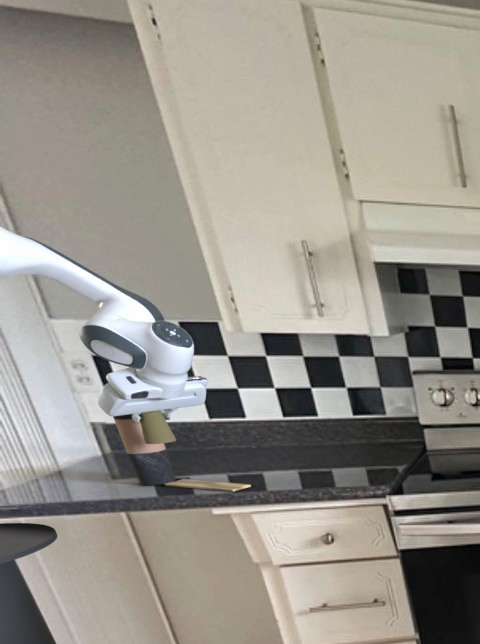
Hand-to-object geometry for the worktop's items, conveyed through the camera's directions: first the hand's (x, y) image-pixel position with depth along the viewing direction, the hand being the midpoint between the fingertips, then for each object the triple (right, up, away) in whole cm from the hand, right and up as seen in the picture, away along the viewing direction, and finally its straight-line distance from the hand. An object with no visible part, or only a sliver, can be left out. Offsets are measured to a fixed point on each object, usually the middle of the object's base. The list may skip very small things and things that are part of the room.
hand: (150, 418), depth 163 cm
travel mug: (-11, -15, +14) cm, 23 cm away
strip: (+5, -16, +11) cm, 20 cm away
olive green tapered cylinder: (+1, -6, +2) cm, 6 cm away
